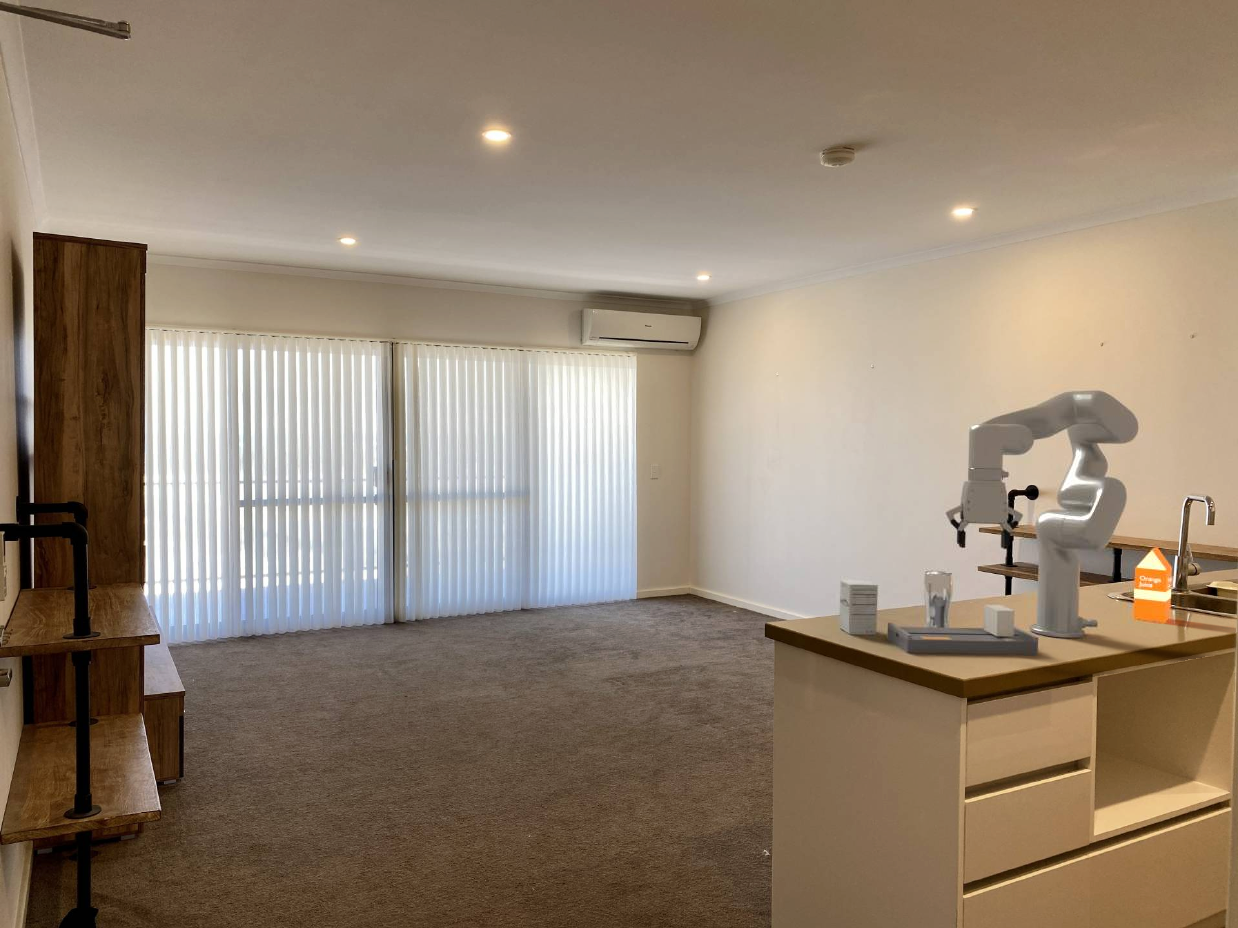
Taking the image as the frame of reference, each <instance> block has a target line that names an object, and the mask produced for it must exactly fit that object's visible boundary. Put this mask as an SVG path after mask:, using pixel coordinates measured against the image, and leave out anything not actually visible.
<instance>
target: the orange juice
mask: <svg viewBox="0 0 1238 928" xmlns="http://www.w3.org/2000/svg"><path fill="white" fill-rule="evenodd" d="M1172 573H1173V567H1172V566H1171V564H1170V563H1169V562H1168V560H1167V559H1166V557H1165V556H1164V555H1163V553H1162V552H1161V550H1160V549H1159V547H1158V546H1156V547H1154V548H1152V549H1151V550H1150V551H1149V553H1147V555H1146V556H1144V558H1143V559H1142V560H1141V561H1140V562H1139V564H1138V565H1136V567H1135V568H1134V589H1133V590H1134V591H1133V618H1132V619H1133V620H1135V619H1142V620H1141V621H1143V620H1148V621H1147V622H1151V621H1158V622H1162V623H1161V624H1165V623H1167V622H1168V621H1169V620H1170V619H1171V602H1172V601H1171V599H1172V577H1173V576H1172ZM1169 618H1170V619H1169ZM1168 619H1169V620H1168ZM1167 620H1168V621H1167ZM1166 621H1167V622H1166ZM1158 622H1157V623H1158Z"/></svg>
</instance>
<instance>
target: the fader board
mask: <svg viewBox="0 0 1238 928" xmlns="http://www.w3.org/2000/svg"><path fill="white" fill-rule="evenodd" d="M983 629H984V627H981V628H980V627H949V628H935V627H925V626H921V627H920V626H898V625H896V624H895V623H893V622H887V634H886V635H887V640H888V641H889V642H891V643H893V644H894V645H895V646H897V648H899V649H901V650H902V651H904V652H906V653H907V654H946V653H948V654H949V655H950V654H951V653H955V654H954V655H956V654H958V655H959V654H960V653H961V654H962V655H1007V654H1010V656H1011V654H1012V656H1013V655H1015V656H1016V655H1018V656H1022V655H1025V656H1027V655H1028V656H1038V653H1039V637H1038V636H1035V635H1033V634H1031V633H1029V632H1027V631H1025V630H1023V629H1021V628H1018V627H1016V626H1014V636H995V635H993V634H991V633H989V632H987V631H985V630H983ZM961 654H960V655H961Z"/></svg>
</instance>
